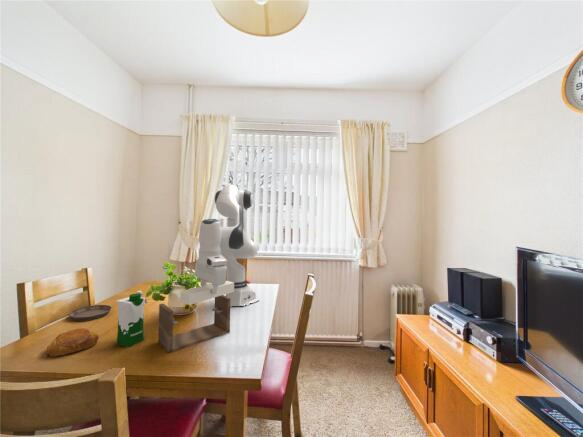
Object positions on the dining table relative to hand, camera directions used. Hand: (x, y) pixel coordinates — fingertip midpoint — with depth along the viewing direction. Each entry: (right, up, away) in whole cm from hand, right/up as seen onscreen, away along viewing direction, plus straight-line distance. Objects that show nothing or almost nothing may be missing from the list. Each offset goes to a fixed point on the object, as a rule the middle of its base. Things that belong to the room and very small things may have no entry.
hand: (209, 291), depth 105 cm
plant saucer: (-72, -21, +29) cm, 80 cm away
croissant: (-53, -22, -4) cm, 57 cm away
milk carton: (-34, -22, +2) cm, 40 cm away
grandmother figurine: (-48, -22, +32) cm, 62 cm away
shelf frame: (-8, -22, +7) cm, 25 cm away
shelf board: (0, -2, 0) cm, 2 cm away
